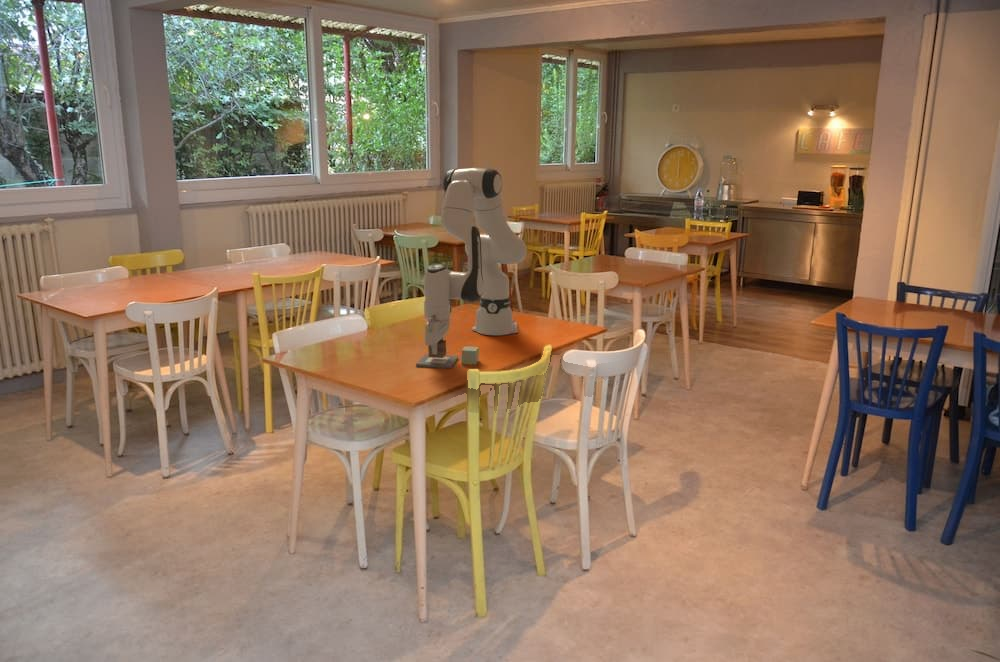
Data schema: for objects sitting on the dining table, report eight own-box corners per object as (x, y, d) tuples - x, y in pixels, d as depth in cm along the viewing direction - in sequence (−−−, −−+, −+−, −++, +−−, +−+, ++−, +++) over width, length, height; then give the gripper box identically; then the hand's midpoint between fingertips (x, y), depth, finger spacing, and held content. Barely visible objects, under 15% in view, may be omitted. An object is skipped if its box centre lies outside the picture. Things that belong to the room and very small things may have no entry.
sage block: (464, 360, 276) (464, 346, 275) (478, 360, 275) (478, 347, 274) (461, 364, 271) (461, 350, 270) (475, 364, 271) (475, 351, 269)
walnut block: (432, 353, 274) (432, 339, 273) (446, 354, 274) (446, 340, 272) (428, 357, 270) (428, 343, 268) (442, 358, 269) (442, 344, 268)
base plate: (425, 356, 279) (425, 353, 279) (458, 358, 277) (458, 355, 277) (416, 366, 267) (416, 363, 267) (450, 368, 265) (450, 365, 265)
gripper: (438, 320, 257) (439, 360, 261) (452, 306, 277) (452, 343, 280) (420, 319, 258) (420, 359, 262) (435, 305, 278) (435, 342, 281)
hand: (437, 351), depth 271 cm, fingers closed on walnut block, 5 cm apart
